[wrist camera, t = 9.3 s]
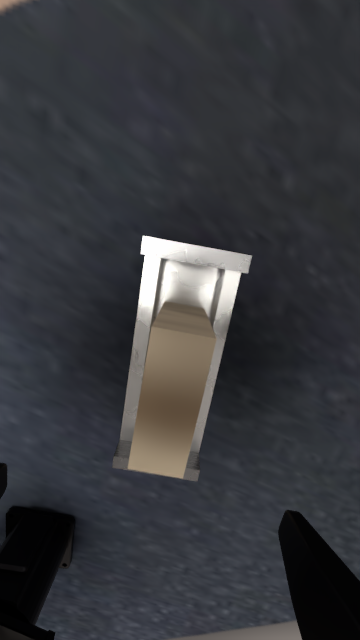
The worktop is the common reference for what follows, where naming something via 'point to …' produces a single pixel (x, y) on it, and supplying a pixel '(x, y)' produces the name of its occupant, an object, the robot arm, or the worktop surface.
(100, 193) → the worktop surface
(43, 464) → the worktop surface
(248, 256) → the bottom track
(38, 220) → the worktop surface
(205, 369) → the door panel
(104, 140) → the worktop surface
